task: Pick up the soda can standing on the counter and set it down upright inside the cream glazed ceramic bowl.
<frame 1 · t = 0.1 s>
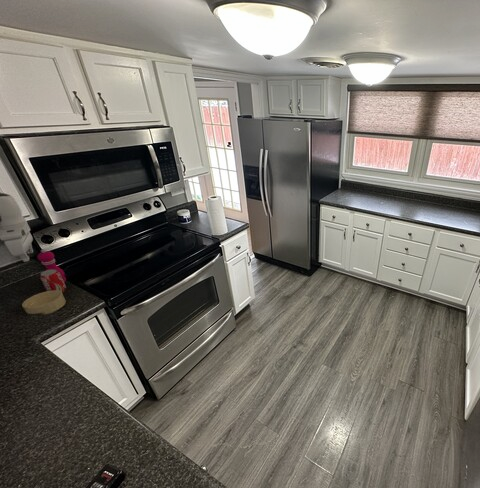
hand: (29, 256, 122), 23 cm above the worktop, tool pointing down, fingers open, 8 cm apart
pepper mill: (58, 281, 144), on the worktop
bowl: (47, 308, 125), on the worktop
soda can: (58, 292, 136), on the worktop
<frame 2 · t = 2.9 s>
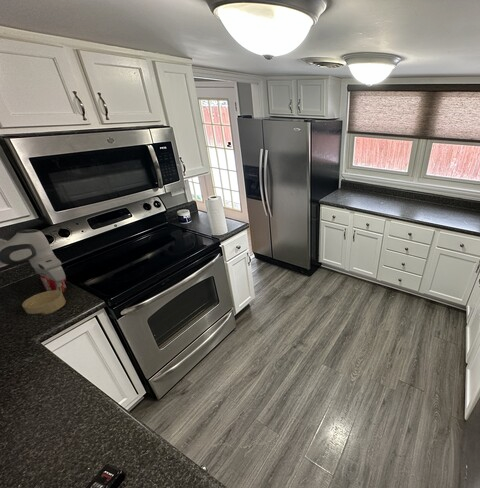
hand: (55, 284, 134), 5 cm above the worktop, tool pointing down, fingers closed on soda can, 7 cm apart
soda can: (58, 292, 136), on the worktop, touching gripper
everything else where it was.
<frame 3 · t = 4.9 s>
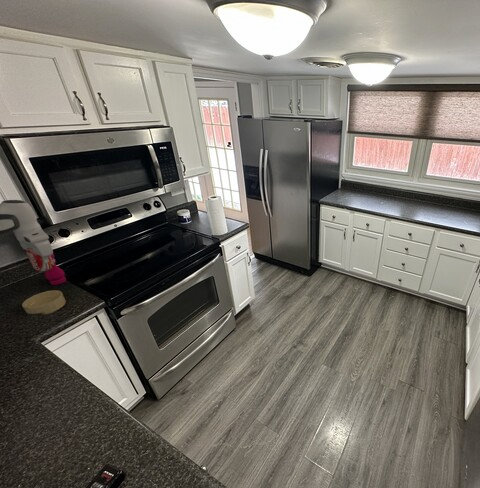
hand: (41, 260, 128), 19 cm above the worktop, tool pointing down, fingers closed on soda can, 7 cm apart
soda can: (45, 269, 130), point 14 cm above the worktop, touching gripper
everything else where it was.
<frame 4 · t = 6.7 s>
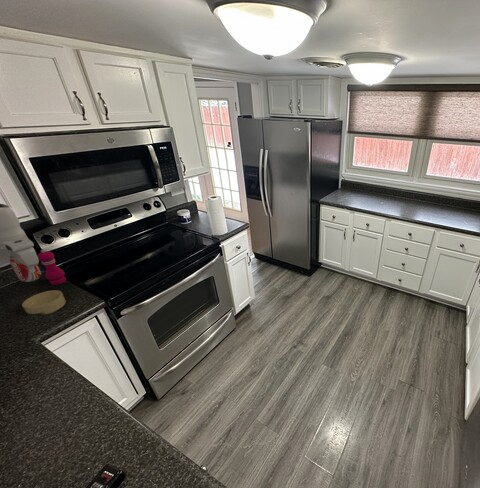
hand: (27, 269, 116), 21 cm above the worktop, tool pointing down, fingers closed on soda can, 7 cm apart
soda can: (32, 279, 118), point 16 cm above the worktop, touching gripper
everything else where it was.
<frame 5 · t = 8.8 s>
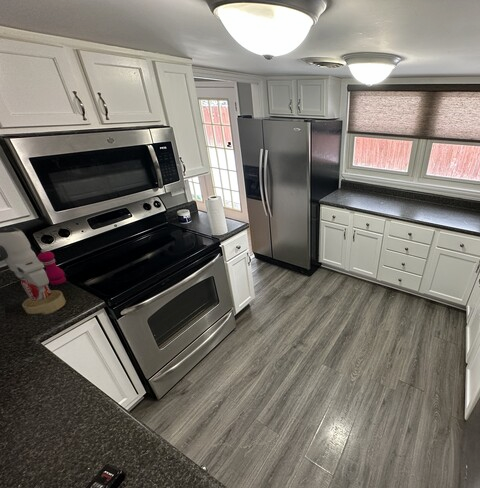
hand: (37, 289, 120), 11 cm above the worktop, tool pointing down, fingers closed on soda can, 7 cm apart
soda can: (42, 297, 122), point 6 cm above the worktop, touching gripper
everything else where it was.
when the fingers open (5 cm above the worktop, at t = 10.7 s): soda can stays where it is, resting on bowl.
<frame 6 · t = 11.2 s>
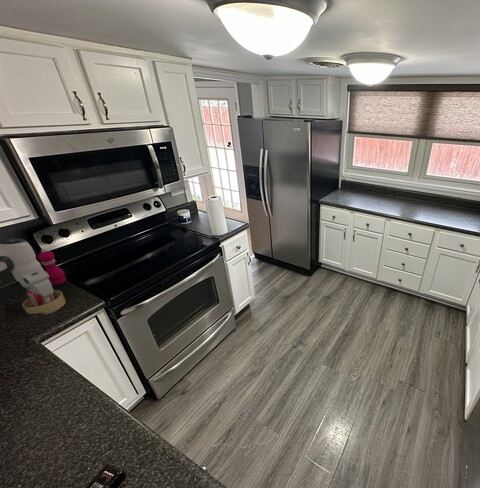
hand: (42, 298, 122), 6 cm above the worktop, tool pointing down, fingers open, 8 cm apart
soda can: (47, 307, 124), resting on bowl
everything else where it was.
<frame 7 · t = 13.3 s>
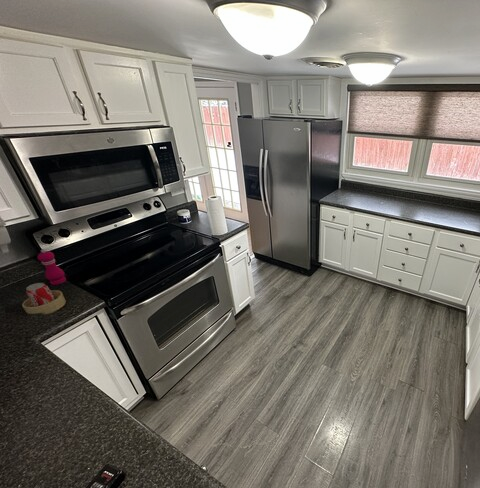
hand: (0, 249, 115), 29 cm above the worktop, tool pointing down, fingers open, 8 cm apart
nothing on the worktop moved.
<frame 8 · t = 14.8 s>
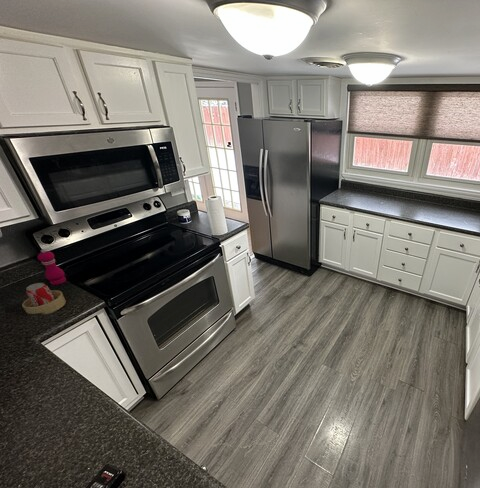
nothing on the worktop moved.
at the end: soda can 0.1 cm off-centre in the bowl, point 0.5 cm above the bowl's base; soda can tilted 0°; the gripper is holding nothing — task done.
